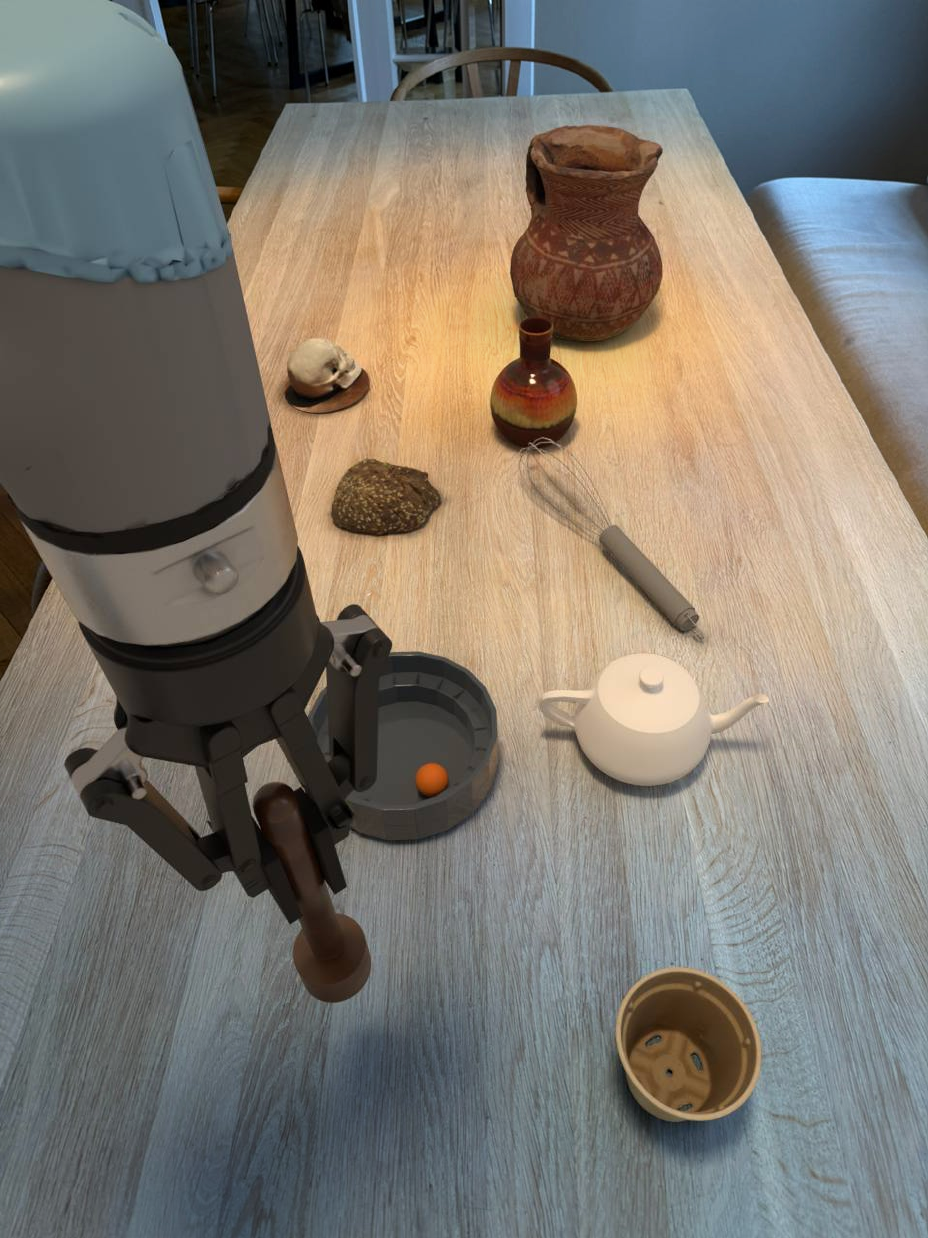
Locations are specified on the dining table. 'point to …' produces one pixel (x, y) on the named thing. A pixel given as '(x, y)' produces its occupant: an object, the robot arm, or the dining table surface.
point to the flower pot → (687, 1045)
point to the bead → (431, 780)
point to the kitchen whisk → (628, 555)
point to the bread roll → (383, 498)
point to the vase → (533, 391)
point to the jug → (587, 232)
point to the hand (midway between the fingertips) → (305, 885)
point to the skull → (323, 377)
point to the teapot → (643, 719)
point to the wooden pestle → (312, 903)
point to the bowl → (423, 746)
